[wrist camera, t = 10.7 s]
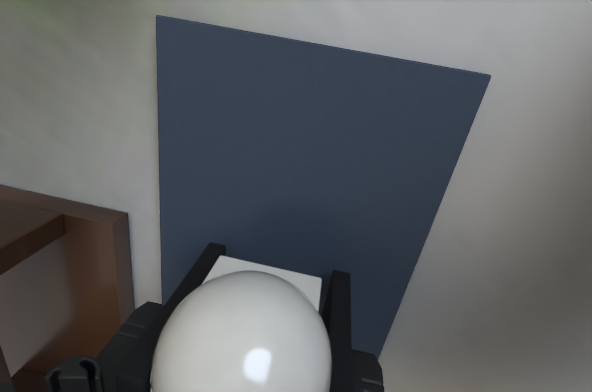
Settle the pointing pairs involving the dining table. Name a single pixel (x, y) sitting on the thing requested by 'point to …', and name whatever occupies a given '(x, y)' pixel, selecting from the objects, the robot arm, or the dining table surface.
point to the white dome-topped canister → (245, 334)
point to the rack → (58, 283)
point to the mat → (305, 159)
